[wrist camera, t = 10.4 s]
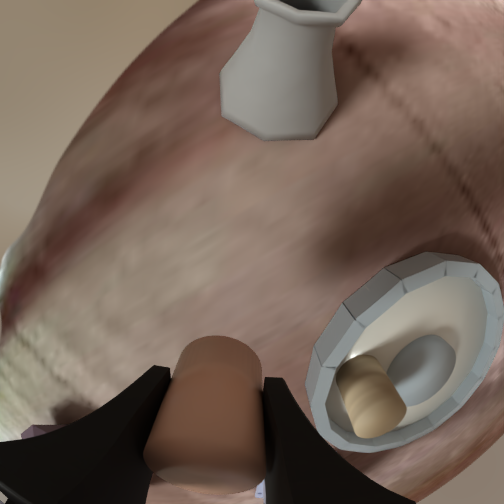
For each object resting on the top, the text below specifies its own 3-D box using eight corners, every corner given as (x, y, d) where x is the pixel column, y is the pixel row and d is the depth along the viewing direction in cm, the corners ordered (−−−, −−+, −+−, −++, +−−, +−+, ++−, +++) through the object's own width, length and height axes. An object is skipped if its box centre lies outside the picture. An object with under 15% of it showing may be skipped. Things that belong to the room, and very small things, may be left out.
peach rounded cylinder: (257, 402, 11) (259, 497, 6) (181, 394, 11) (154, 484, 6) (265, 338, 10) (273, 442, 5) (176, 331, 10) (131, 424, 5)
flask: (346, 59, 14) (419, -29, 4) (323, 159, 15) (415, 127, 6) (236, 30, 13) (221, -82, 4) (203, 128, 15) (137, 56, 5)
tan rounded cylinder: (330, 391, 18) (347, 441, 13) (342, 354, 17) (365, 403, 12) (371, 389, 18) (393, 434, 13) (385, 353, 17) (415, 397, 12)
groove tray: (443, 417, 21) (453, 430, 18) (289, 440, 20) (291, 461, 18) (506, 261, 17) (524, 268, 14) (332, 241, 16) (345, 250, 14)
